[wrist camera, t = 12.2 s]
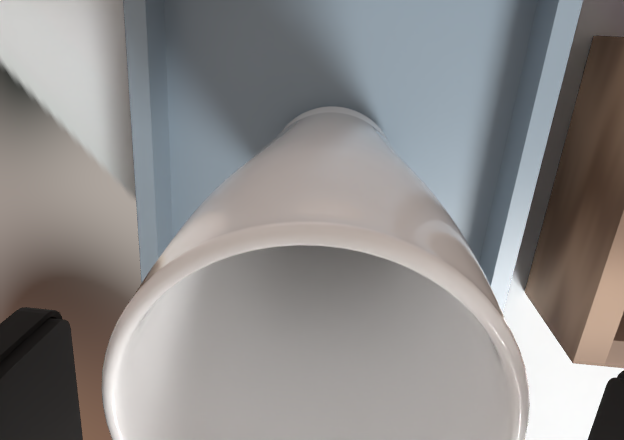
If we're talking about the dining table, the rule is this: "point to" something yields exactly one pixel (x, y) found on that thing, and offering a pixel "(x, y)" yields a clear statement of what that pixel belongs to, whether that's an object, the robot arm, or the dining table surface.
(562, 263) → the frame
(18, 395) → the robot arm
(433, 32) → the tray
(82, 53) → the dining table surface
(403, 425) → the drinking glass
